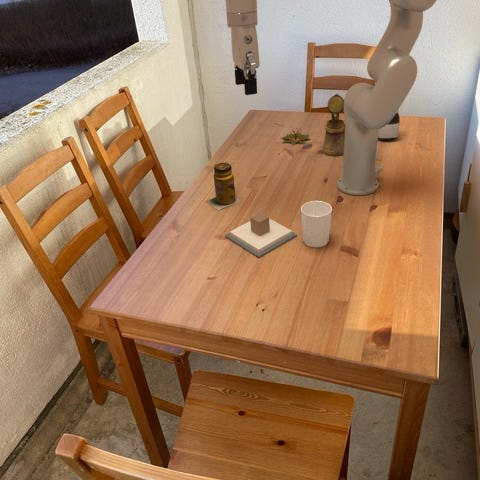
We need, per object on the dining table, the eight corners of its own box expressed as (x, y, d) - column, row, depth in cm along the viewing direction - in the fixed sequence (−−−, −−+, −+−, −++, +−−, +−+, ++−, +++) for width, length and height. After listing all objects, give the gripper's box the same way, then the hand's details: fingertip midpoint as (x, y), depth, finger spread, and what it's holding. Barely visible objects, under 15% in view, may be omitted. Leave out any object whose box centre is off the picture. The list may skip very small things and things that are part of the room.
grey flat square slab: (262, 217, 138) (262, 215, 137) (297, 236, 128) (297, 234, 128) (225, 237, 131) (224, 235, 130) (258, 258, 121) (258, 256, 121)
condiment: (241, 201, 146) (238, 166, 140) (218, 210, 143) (213, 175, 136) (228, 192, 152) (225, 158, 145) (206, 201, 148) (201, 166, 141)
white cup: (333, 234, 128) (334, 202, 122) (327, 250, 122) (329, 218, 116) (304, 230, 130) (304, 199, 125) (298, 246, 124) (297, 214, 119)
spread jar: (400, 142, 173) (403, 111, 166) (368, 144, 174) (371, 113, 167) (391, 130, 183) (395, 100, 176) (362, 132, 183) (364, 102, 177)
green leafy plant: (277, 146, 180) (276, 134, 177) (284, 133, 189) (283, 122, 187) (308, 147, 177) (308, 136, 174) (313, 135, 186) (314, 123, 183)
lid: (262, 218, 136) (261, 201, 133) (291, 234, 128) (291, 216, 125) (230, 235, 130) (228, 217, 127) (258, 253, 122) (257, 235, 119)
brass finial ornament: (347, 141, 177) (349, 93, 167) (347, 156, 167) (350, 106, 156) (323, 141, 179) (324, 94, 169) (321, 156, 168) (322, 106, 158)
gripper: (267, 23, 109) (269, 96, 119) (247, 12, 123) (250, 78, 133) (236, 26, 108) (240, 100, 118) (219, 15, 122) (225, 82, 132)
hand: (246, 89), depth 125 cm, fingers open, 9 cm apart
